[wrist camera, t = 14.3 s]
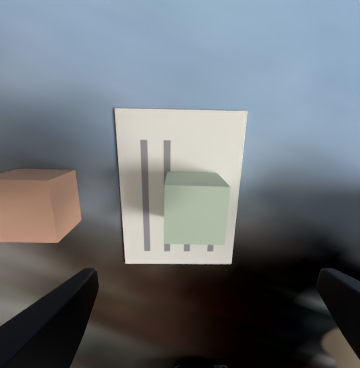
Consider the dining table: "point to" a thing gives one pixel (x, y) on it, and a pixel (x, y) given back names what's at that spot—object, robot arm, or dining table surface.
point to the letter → (176, 162)
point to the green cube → (195, 208)
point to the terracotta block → (38, 205)
